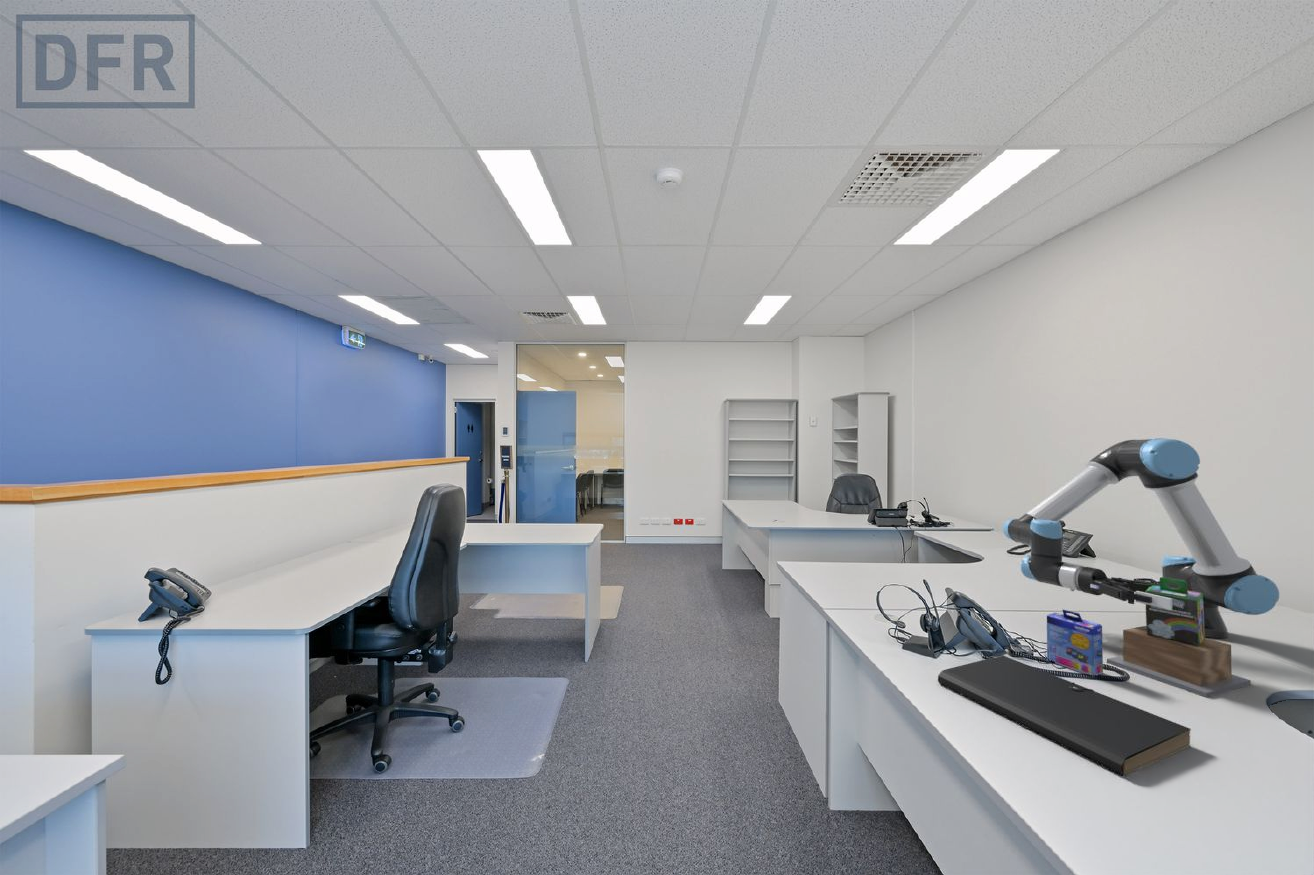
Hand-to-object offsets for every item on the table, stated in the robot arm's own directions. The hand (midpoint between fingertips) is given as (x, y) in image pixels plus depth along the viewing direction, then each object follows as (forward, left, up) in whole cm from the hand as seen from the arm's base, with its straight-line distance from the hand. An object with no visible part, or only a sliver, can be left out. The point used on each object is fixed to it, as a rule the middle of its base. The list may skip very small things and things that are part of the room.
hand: (1186, 601), depth 115 cm
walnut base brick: (0, -2, -18) cm, 19 cm away
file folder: (+52, 0, -19) cm, 55 cm away
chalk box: (0, -2, -10) cm, 10 cm away
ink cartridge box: (+22, -12, -19) cm, 31 cm away
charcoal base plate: (0, -2, -18) cm, 19 cm away
